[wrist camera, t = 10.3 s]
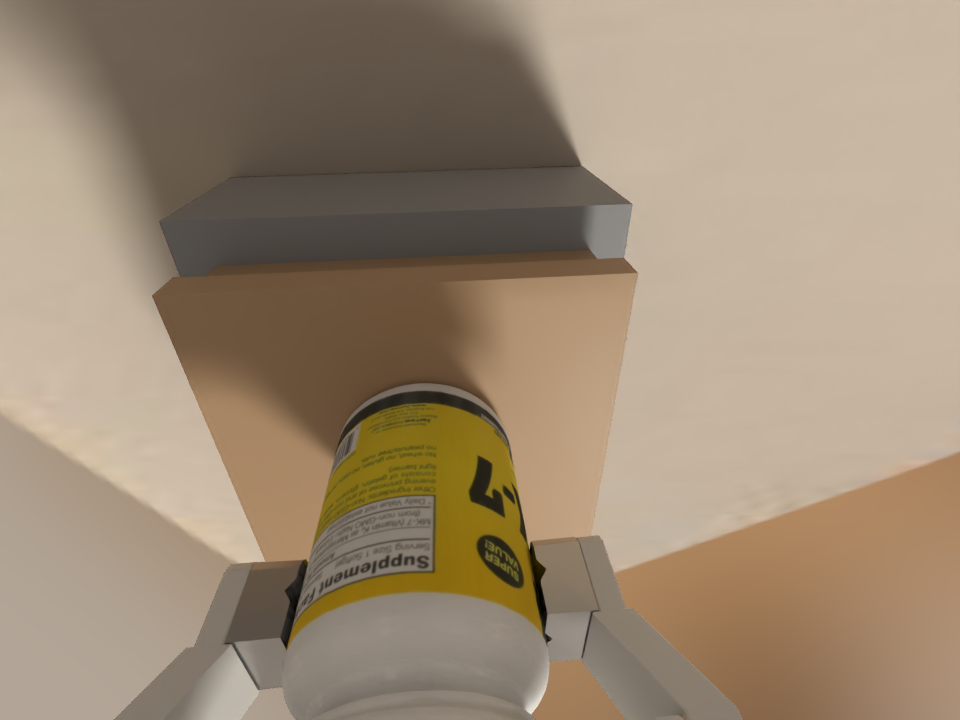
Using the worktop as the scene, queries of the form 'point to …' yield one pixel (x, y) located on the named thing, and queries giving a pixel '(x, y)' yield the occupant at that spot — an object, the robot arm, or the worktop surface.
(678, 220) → the worktop surface
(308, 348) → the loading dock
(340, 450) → the supplement bottle
